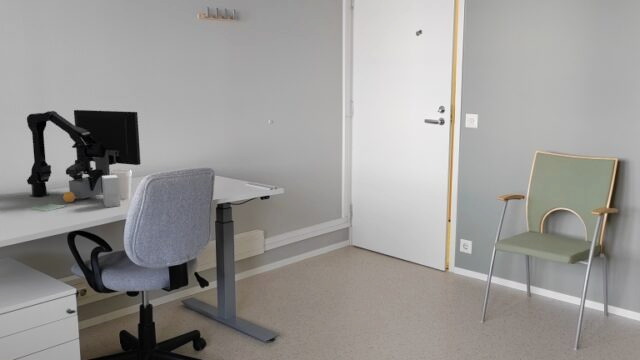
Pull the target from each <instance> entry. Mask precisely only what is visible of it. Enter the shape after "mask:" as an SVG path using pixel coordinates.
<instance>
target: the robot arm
mask: <svg viewBox="0 0 640 360" xmlns="http://www.w3.org/2000/svg"><path fill="white" fill-rule="evenodd" d="M47 122H51V123H53V125H55V126H57V127H58V128H60V129H61V130H63V132H66V133H67V134H68V135H69V137H70V139H71V140H72V141H73V142H74V144H73V145H72V146H71V148H72V149H76V151H75V152H76V159H75V160H74V164H71V165H70V166H68V167H67V168H66V169H65V175H68V176H69V177H70V178H71V179H72V180H75V179H79V178H83V175H87V176H86V177H87V178H88V179H89V181H90V188H91V191H93V190H94V188H95V185H96V183H97V181H98V179H99V177H101V176H103V175H104V173H103V170H101V169H96V168H95V169H94V168H93V167H92V166H91V162H93V161H92V159H90V157H91V158H103V157H104V156H105V153H106V150H105V148H104V147H103V146H102V143H99V144H96V142H95V141H94V140H93V138H92V137H91V135H90V132H89V131H87V130H85V129H83V128H80V127H76V126H75V124H73V123H72V122H70V121H69V120H67V119H66V118H65V117H63V116H62V115H60V114H59V113H58V112H57V111H56V110H49V111H45V112H38V113H37V112H36V113H35V112H34V113H30V114H29V115H27V117H26V123H27V127H28V128H29V130H30V131H31V136H32V137H31V138H32V148H33V149H32V150H33V159H34V160H33V162H34V163H33V164H32V167H31V173H30V176H29V177H28V178H27V179H26V182H27V185H31V194H29V197H34V198H35V197H36V198H41V197H46V196H49V195H50V193H48V191H47V190H48V189H47V185H46V183H47V182H49V180H50V177H51V175H52V174H53V173H52V170H51V169H52V166H51V164H48V163H47V161H46V148H45V138H44V137H45V136H44V132H45V129H46V127H47Z"/></svg>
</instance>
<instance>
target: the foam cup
mask: <svg viewBox="0 0 640 360" xmlns="http://www.w3.org/2000/svg"><path fill="white" fill-rule="evenodd" d="M132 174H133V173H132V170H131V169H115V170H111V171H110V175H116V176H117V177H118V178H119V194H120V201H123V200H129V199H131V188H132Z"/></svg>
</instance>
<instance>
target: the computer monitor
mask: <svg viewBox="0 0 640 360" xmlns="http://www.w3.org/2000/svg"><path fill="white" fill-rule="evenodd" d="M73 116H74V117H73V119H74V126H76V127H80V128H83V129H85V130H87V131H89V132H90V135H91V137H92V138H93V140H94V141H95V142H96V144H99V143H102V146H103V147H104V148H105V150H106V153H105V156H104V157H103V158H91V157H90V159H92V161H91V162H94V164H95V165H94V166H95V169H101V170H103V173H104V175H103V176H107V175H111V171H110V169H111V168H110V166H112V165H117V164H119V165H120V164H121V165H123V164H124V165H133V166H138V165H141V163H142V162H141V151H140V150H141V149H140V135H139V133H140V132H139V116H138V112H137V111H120V110H115V111H114V110H113V111H112V110H91V109H90V110H89V109H85V110H84V109H75V110H73ZM99 178H101V190H102V194H103V187H102V176H101V177H99Z"/></svg>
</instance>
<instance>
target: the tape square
mask: <svg viewBox="0 0 640 360" xmlns="http://www.w3.org/2000/svg"><path fill="white" fill-rule="evenodd" d="M65 207H66V205H59V204H52V203H49V204H44V205H40V206H35V207H32V208H31V207H30V210H35V211H40V212H41V211H42V212H48V211H53V210H56V209H60V208H65Z"/></svg>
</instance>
